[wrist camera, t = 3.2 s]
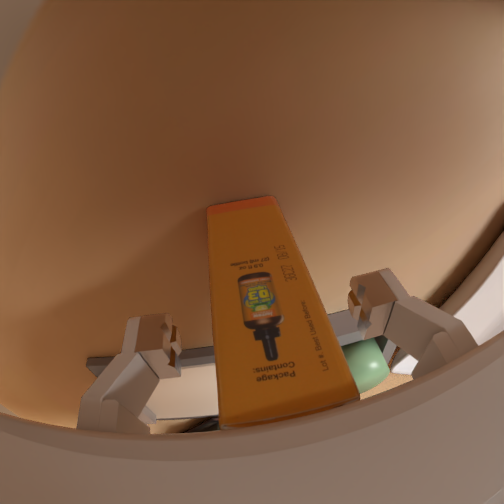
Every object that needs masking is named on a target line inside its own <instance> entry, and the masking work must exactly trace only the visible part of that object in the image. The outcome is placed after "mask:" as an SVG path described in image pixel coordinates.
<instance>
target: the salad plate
mask: <svg viewBox="0 0 504 504" xmlns="http://www.w3.org/2000/svg"><path fill="white" fill-rule="evenodd" d="M439 309H440V310H442V311H444V312H446V313H448V314H450V315H452V316H454V317H455V318H457V319H459V320H461V321H462V322H463V323H464V325H465V326H466V327H467V329H468V330H469V332H470V333H471V335H472V336H473V338H474V340H475V341H476V343H477V344H478V346H479V345H481V344H483V343H484V342H486V341H488V340H489V339H491V338H492V337H494V336H495V335H497V334H498V333H500V332H501V331H503V330H504V231H503V232H502V233H501V235H500V236H499V237H498V239H497V240H496V241H495V243H494V244H493V245H492V247H491V248H490V249H489V251H488V252H487V253H486V255H485V256H484V257H483V258H482V260H481V261H480V262H479V263H478V265H477V266H476V267H475V268H474V270H473V271H472V272H471V273H470V274H469V275H468V277H467V278H466V279H465V280H464V281H463V283H462V284H461V285H460V286H459V287H458V288H457V290H456V291H455V292H454V293H453V294H452V295H451V296H450V297H449V298H448V299H447V300H446V302H445V303H444V304H443V305H442V306H441V307H440V308H439ZM417 363H418V361H417V360H416V359H414V358H413V357H412V356H410V355H409V354H408V353H406V352H405V351H404V350H402V349H401V348H400V349H399V351H398V352H397V354H396V356H395V357H394V359H393V362H392V364H391V369H390V371H391V372H392V373H397V374H408V375H411V373H412V371H413V369H414V367H415V366H416V364H417Z"/></svg>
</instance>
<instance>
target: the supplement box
mask: <svg viewBox="0 0 504 504" xmlns="http://www.w3.org/2000/svg"><path fill="white" fill-rule="evenodd" d="M206 212H207V227H208V255H209V256H208V257H209V280H210V297H211V313H212V329H213V342H214V355H215V367H216V380H217V393H218V411H219V415H218V417H219V427H220V430H229V429H237V428H244V427H251V426H257V425H263V424H269V423H274V422H279V421H284V420H289V419H294V418H298V417H302V416H307V415H311V414H315V413H319V412H322V411H326V410H330V409H333V408H337V407H340V406H343V405H347V404H350V403H353V402H356V401H359V400H360V393H359V390H358V388H357V385H356V383H355V380H354V378H353V376H352V373H351V371H350V368H349V366H348V363H347V361H346V358H345V356H344V353H343V351H342V349H341V346H340V344H339V341H338V339H337V337H336V334H335V332H334V330H333V327H332V325H331V322H330V320H329V318H328V315H327V313H326V311H325V308H324V306H323V304H322V301H321V299H320V296H319V294H318V292H317V290H316V288H315V285H314V283H313V280H312V278H311V276H310V273H309V271H308V269H307V267H306V265H305V262H304V260H303V258H302V255H301V253H300V251H299V249H298V247H297V244H296V242H295V240H294V238H293V236H292V233H291V231H290V229H289V227H288V225H287V223H286V220H285V218H284V216H283V214H282V212H281V209H280V207H279V205H278V203H277V200H276V199H275V197H273V196H264V197H259V198H253V199H247V200H241V201H235V202H230V203H224V204H219V205H213V206H209V207H208V208H207V210H206Z"/></svg>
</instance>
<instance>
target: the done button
mask: <svg viewBox="0 0 504 504" xmlns="http://www.w3.org/2000/svg"><path fill="white" fill-rule="evenodd" d="M341 349H342V351H343V353H344V356H345V358H346V361H347V363H348V366H349V368H350V371H351V373H352V376H353V378H354V380H355V383H356V385H357V388H358V390H359V393H360V394H361V393H363V392H366V391H368V390H370V389H372V388H373V387H375V386H377V385H378V384H379V383H381V382H382V381H383V380H384V379H385V378H386V377H387V376H388V374H389V372H390V369H389V367H388V365H387V363H386V361H385V359H384V357H383V355H382V352H381V350H380V348H379V346H378V344H377V342H376V340H375V338H370V339H366V340H360V341H357V342H354V343H350V344H347V345H343V346H341Z"/></svg>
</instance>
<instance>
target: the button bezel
mask: <svg viewBox="0 0 504 504" xmlns="http://www.w3.org/2000/svg"><path fill="white" fill-rule="evenodd" d="M328 318H329V320H330V322H331V325H332V327H333V330H334V332H335V334H336V337H337V339H338V341H339V344H340V346H343V345H347V344H350V343H354V342H357V341H360V340H363V338H362V336H361V334H360V332H359V330H358V328H357V324H358V321H357V320H356V319H354V318H352V315H351V313H350V311H349V310H345V311H341V312H338V313H334V314H329V315H328ZM374 338H375V340H376V342H377V344H378V346H379V348H380V350H381V352H382V355H383V357H384V359H385V361H386V363H387V365H388V363H389V361H390V359H391V357H392V355H393V353H394V351H395V349H396V347H397V345H396V344H394V343H393V342H392V341H390V340H389V339H387V338H386V337H385V336H384V335H380V336H377V337H374Z"/></svg>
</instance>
